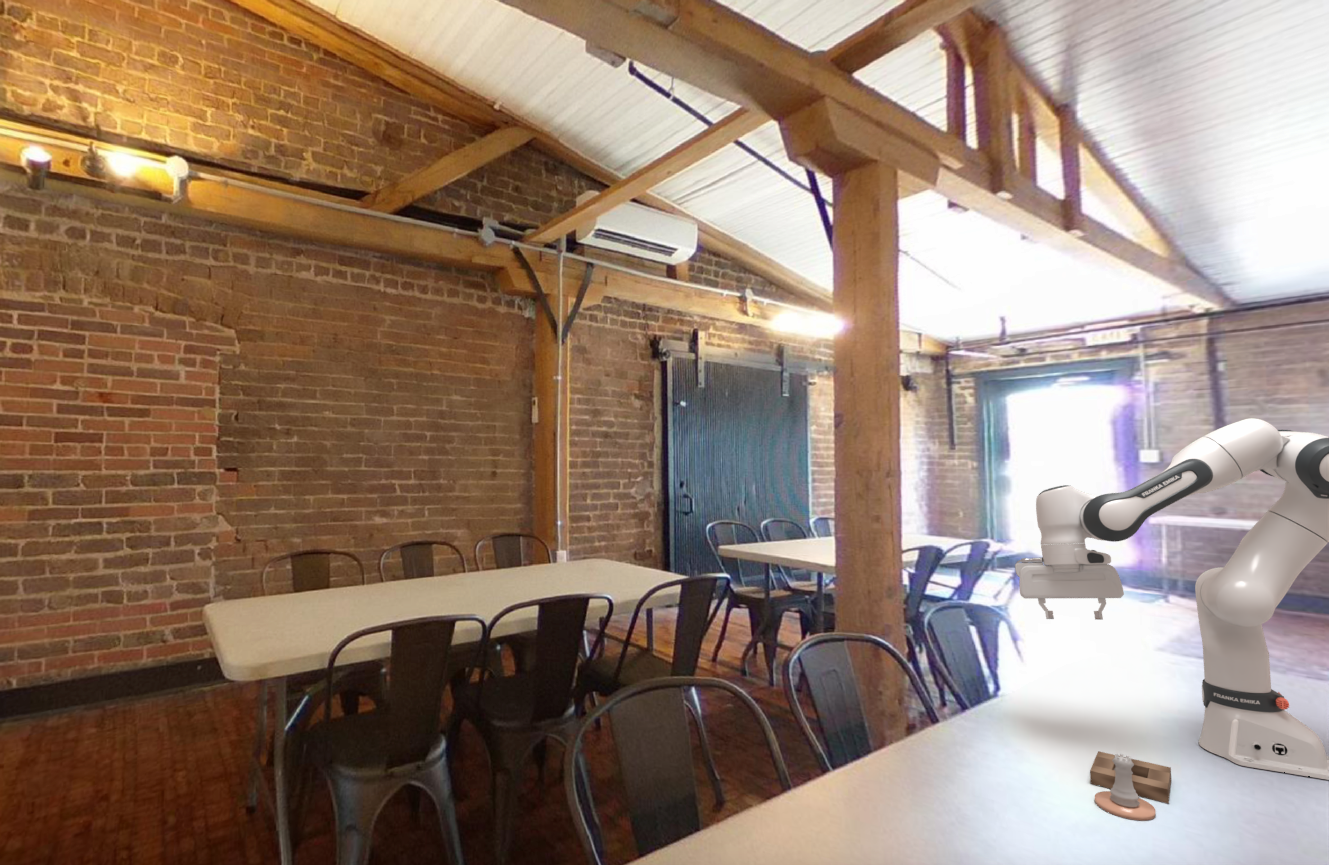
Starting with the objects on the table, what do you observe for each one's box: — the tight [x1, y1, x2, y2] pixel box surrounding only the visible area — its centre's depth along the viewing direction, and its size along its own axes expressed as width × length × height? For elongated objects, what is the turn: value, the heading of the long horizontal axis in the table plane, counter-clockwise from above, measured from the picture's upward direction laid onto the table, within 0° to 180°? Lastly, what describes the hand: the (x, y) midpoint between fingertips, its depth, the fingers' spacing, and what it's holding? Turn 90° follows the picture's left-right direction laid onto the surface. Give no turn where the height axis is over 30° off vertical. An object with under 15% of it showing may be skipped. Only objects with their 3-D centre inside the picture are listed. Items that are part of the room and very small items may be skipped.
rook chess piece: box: [1109, 753, 1140, 808], centre depth 118 cm, size 4×4×8 cm
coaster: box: [1094, 790, 1157, 822], centre depth 118 cm, size 9×9×1 cm
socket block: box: [1089, 751, 1172, 804], centre depth 128 cm, size 12×12×2 cm
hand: (1074, 619), depth 148 cm, fingers open, 8 cm apart
